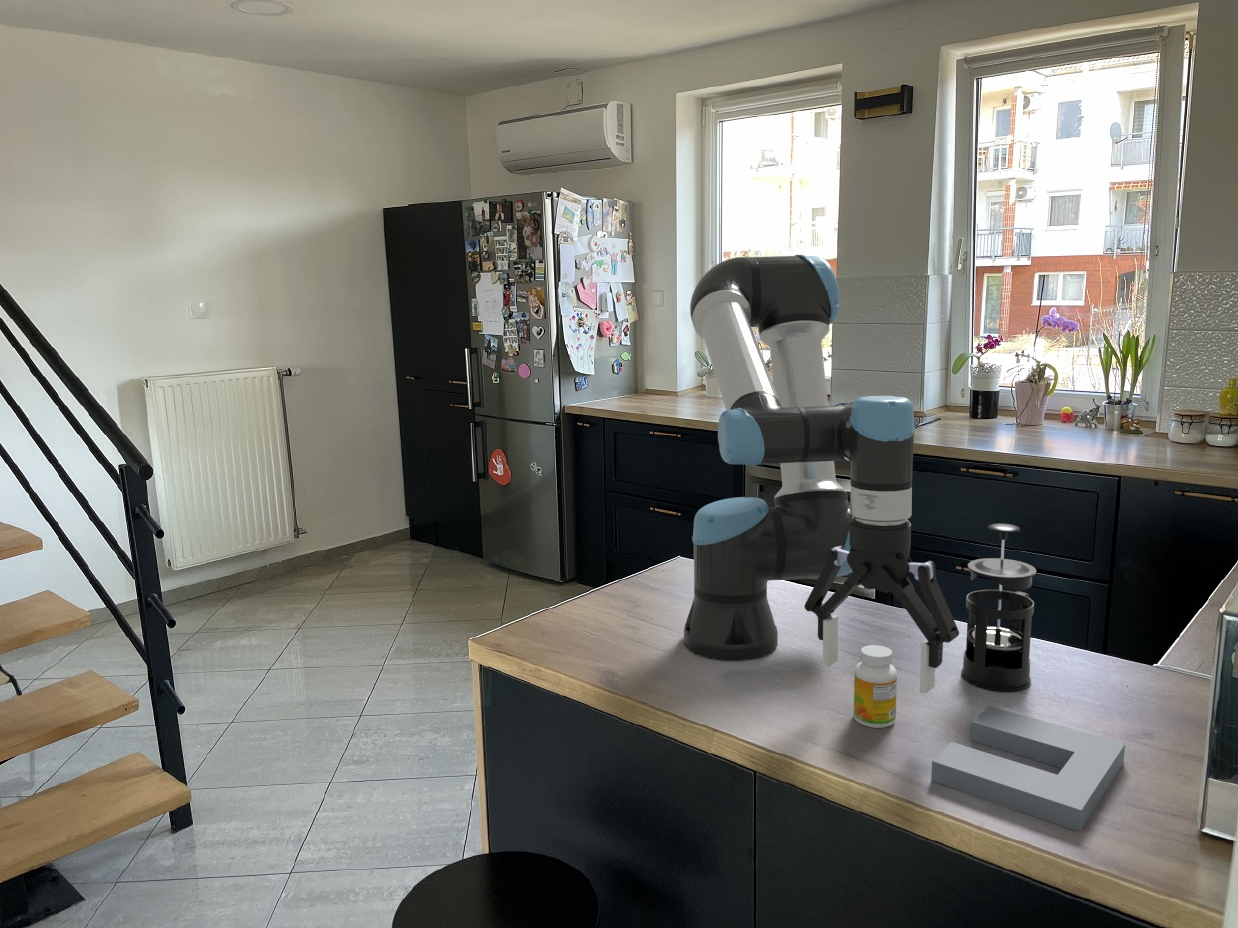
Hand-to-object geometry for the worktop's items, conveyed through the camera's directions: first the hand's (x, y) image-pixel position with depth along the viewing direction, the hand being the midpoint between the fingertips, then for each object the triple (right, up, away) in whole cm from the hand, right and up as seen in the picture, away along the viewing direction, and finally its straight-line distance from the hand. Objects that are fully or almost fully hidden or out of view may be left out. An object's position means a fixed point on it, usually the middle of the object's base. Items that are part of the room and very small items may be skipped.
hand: (876, 676), depth 119 cm
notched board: (+14, -8, -12) cm, 21 cm away
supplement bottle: (0, -6, +2) cm, 7 cm away
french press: (+21, -3, +13) cm, 25 cm away
